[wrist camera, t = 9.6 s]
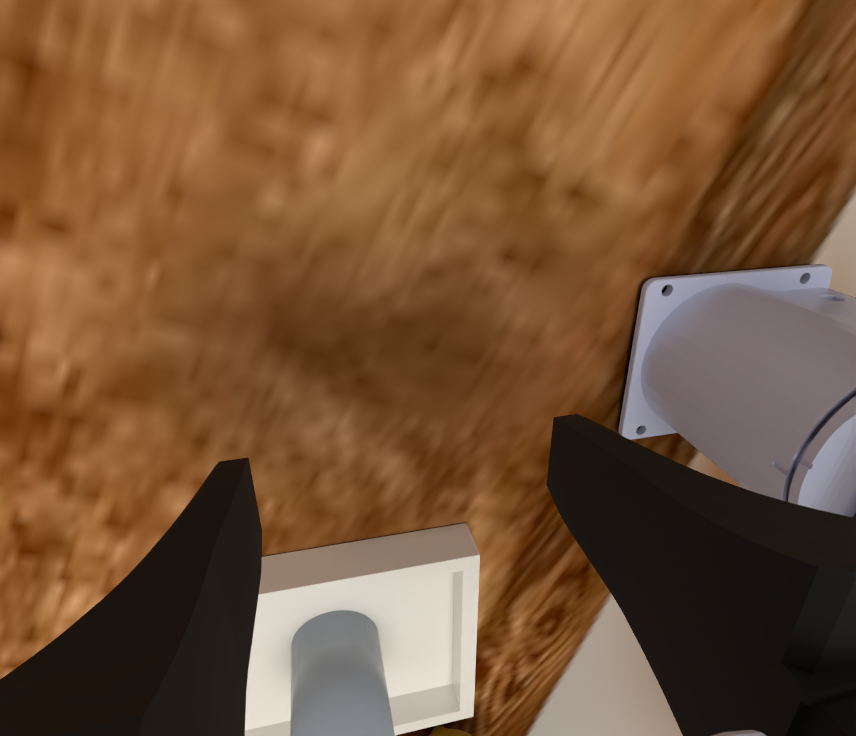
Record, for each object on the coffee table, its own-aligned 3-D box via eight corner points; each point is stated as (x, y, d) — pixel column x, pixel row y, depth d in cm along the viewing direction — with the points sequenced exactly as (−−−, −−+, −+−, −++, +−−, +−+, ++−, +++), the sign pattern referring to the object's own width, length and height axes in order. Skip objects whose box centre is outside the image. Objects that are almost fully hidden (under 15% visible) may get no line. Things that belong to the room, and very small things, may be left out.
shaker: (373, 601, 27) (396, 746, 21) (382, 659, 29) (406, 807, 23) (283, 622, 26) (279, 778, 20) (299, 680, 28) (300, 839, 22)
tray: (466, 522, 27) (479, 554, 25) (462, 680, 32) (473, 716, 30) (165, 573, 24) (154, 613, 22) (214, 736, 30) (208, 780, 28)
